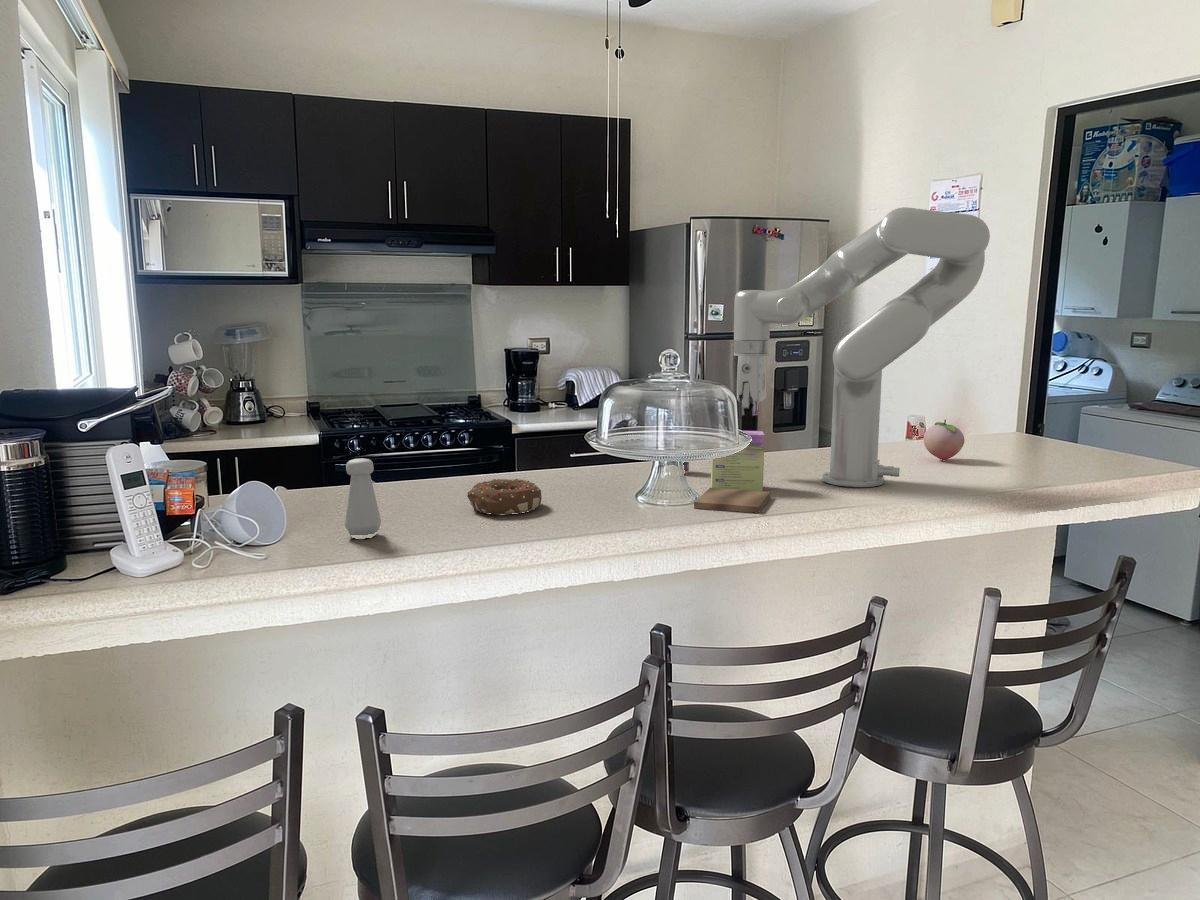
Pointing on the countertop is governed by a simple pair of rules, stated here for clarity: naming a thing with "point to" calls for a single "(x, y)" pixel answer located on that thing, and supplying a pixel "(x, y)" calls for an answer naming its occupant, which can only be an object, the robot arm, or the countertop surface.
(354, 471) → the salt shaker
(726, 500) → the board
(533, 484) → the donut
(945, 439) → the decorative fruit
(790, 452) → the countertop surface
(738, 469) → the box
